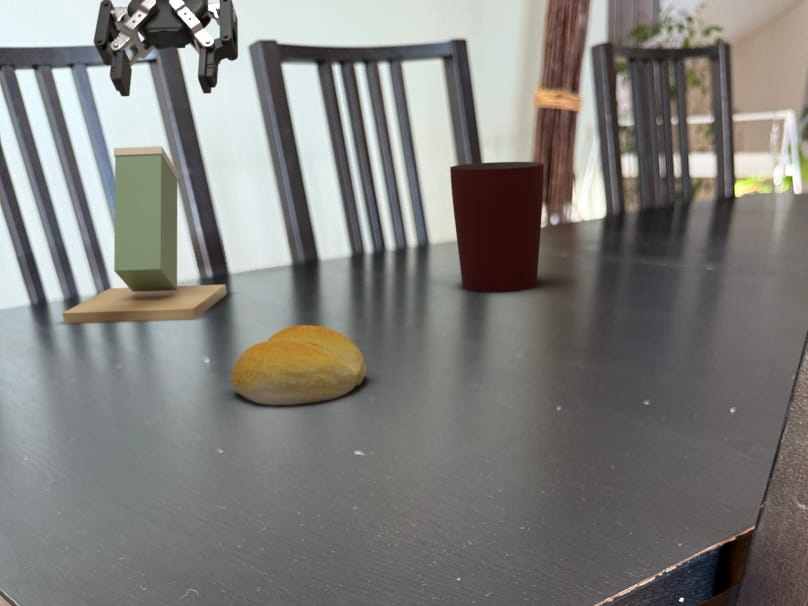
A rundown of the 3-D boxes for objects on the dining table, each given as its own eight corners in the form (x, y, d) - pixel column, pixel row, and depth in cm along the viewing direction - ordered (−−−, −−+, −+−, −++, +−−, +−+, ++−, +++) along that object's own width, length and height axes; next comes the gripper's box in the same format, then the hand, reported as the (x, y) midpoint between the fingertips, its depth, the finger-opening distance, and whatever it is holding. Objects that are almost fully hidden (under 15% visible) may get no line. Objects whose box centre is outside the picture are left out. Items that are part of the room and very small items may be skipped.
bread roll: (214, 407, 62) (203, 344, 60) (282, 371, 69) (274, 315, 67) (327, 414, 59) (319, 350, 57) (385, 377, 66) (380, 318, 64)
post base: (65, 326, 86) (61, 312, 85) (111, 300, 96) (108, 288, 95) (195, 322, 85) (193, 308, 85) (227, 296, 96) (225, 284, 95)
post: (112, 270, 87) (113, 147, 88) (132, 292, 92) (133, 175, 93) (161, 268, 87) (161, 145, 88) (178, 291, 92) (178, 173, 93)
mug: (469, 275, 102) (465, 160, 96) (551, 274, 100) (551, 158, 94) (447, 296, 91) (441, 170, 86) (538, 296, 90) (538, 167, 84)
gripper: (92, -68, 96) (77, 60, 92) (229, -74, 96) (221, 54, 92) (121, -2, 104) (109, 120, 100) (249, -7, 103) (242, 115, 99)
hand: (163, 88), depth 96 cm, fingers open, 8 cm apart
